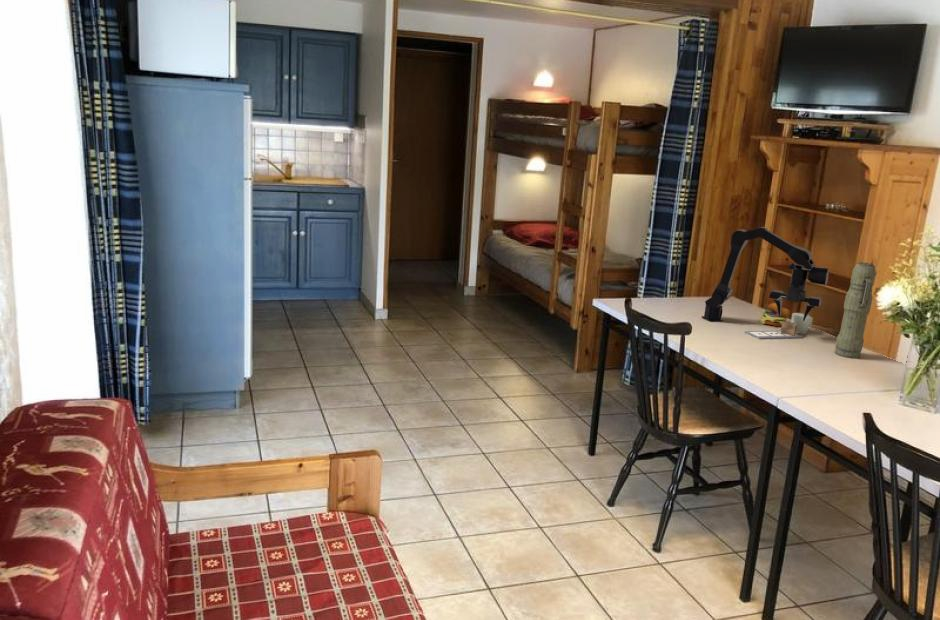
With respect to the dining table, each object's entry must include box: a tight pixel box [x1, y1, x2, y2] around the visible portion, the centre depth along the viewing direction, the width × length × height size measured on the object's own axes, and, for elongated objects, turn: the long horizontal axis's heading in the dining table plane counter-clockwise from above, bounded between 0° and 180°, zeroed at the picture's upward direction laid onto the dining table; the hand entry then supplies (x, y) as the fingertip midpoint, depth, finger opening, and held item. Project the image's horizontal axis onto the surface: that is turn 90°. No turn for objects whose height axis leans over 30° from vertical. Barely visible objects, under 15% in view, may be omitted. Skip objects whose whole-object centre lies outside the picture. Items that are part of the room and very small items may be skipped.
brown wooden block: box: [780, 320, 797, 336], centre depth 313 cm, size 5×5×4 cm
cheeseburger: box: [760, 302, 791, 327], centre depth 329 cm, size 10×11×10 cm
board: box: [744, 330, 804, 340], centre depth 311 cm, size 21×9×1 cm, turn 108°
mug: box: [790, 312, 814, 335], centre depth 320 cm, size 9×7×7 cm
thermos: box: [834, 261, 877, 359], centre depth 287 cm, size 9×12×35 cm
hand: (791, 318), depth 312 cm, fingers open, 9 cm apart
